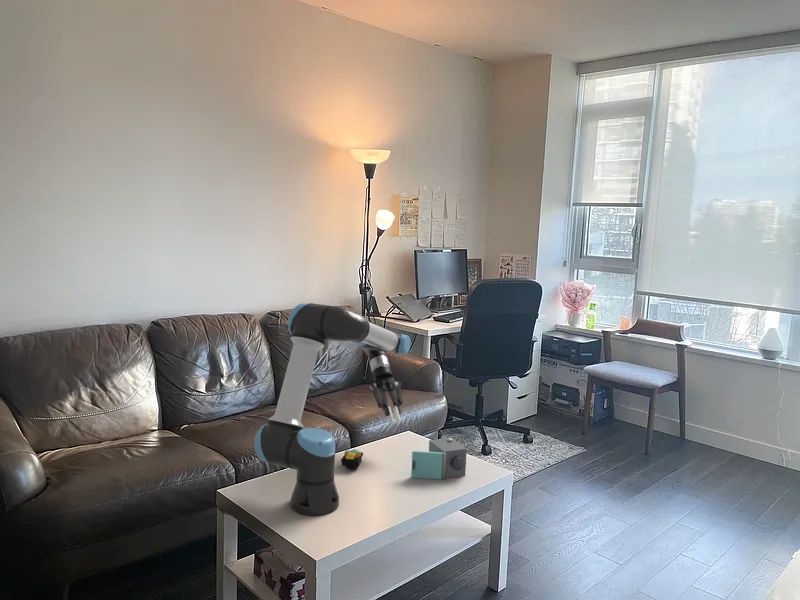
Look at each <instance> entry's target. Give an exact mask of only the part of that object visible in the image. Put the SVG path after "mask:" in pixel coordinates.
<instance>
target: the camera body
mask: <svg viewBox="0 0 800 600" xmlns="http://www.w3.org/2000/svg"><path fill="white" fill-rule="evenodd" d="M428 452H440V453H443V452H445V453H446V463H445V479H452V478H457V477H458V478H459V477H465V476H466V470H467V448H466V447H465V446H463V445H462V444H460V443H459V442H458V441H456V440H455V439H454V438H452V437H447V438H446V437H445V438H439V439H438V438H436V439H429V441H428Z"/></svg>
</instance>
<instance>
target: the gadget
mask: <svg viewBox="0 0 800 600" xmlns="http://www.w3.org/2000/svg"><path fill="white" fill-rule="evenodd" d="M363 456H364V452H362V451H360V450H358V449H356V448H355V449H351V450H345V451H344V455H343V456H342V457H341V459H340V461H341V466H343V467H345V468H346V469H356V468H359V466H360V465H361V463H362V458H363Z"/></svg>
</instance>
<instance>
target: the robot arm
mask: <svg viewBox="0 0 800 600" xmlns="http://www.w3.org/2000/svg"><path fill="white" fill-rule="evenodd" d="M287 326H288V327H287V330H288V332H289V334H290V341H291V342H292V343H293V345H292V348H291V352H290V356H289V357H290V358H289V361H288V363H287V366H286V367H287V368H286V372H285V375H284V378H283V383H282V386H281V390H280V393H279V396H278V400H277V405H276V408H275V412H274V414H273V415H272V416H271V417H269V418H268V420H267V423H266V424H264V425H262V426H260V428H259V429H258V430H257V432H256V434H255V437H254V452H255V453H256V455H257V457H258V458H259V460H261V461H262V462H265V463H268V464H269V465H274V466H278V467H283V468H288V469H290V470H295V471H296V482H295V485H294V487H293V491H292V494H291V497H290V508H291V509H292V511H294V512H295V513H298V514H300V515H303V516H323V515H326V514H330V513H332V512H334V511H335V510H337V509H338V507H339V505H340V496H339V493H338V490H337V486H336V483H335V458H336V443H335V438H334V435H333V434H332V433H331V432H330V431H327V430H325V429H323V428H319V427H317V428H316V427H314V428H312V427H305V428H304V425H303V423H302V417H303V412H304V408H305V404H306V400H307V396H308V393H309V389H310V384H311V380H312V376H313V374H314V369H315V365H316V361H317V359H318V354H319V351H320V350H322V349H323V348H324V347H325V344H326V341H332V342H349V343H350V342H351V343H355V344H357V346H358V347H359V348H361V349H362V350H363V351H364V352H365V354H366V355H367V359H368V361H369V365H370V369H371V373H372V377H373V381H374V382H373V383H370V385H369V388H368V389H369V390H370V391H371V393H372V394H373V397H374V400H375V403H376V404H377V407H378V408H379V409H382V411H384V415H385V417H387V418H388V421H389V422H388V423H389V425H394V422H395V421H396V424H397V425H400V423H401V422H402V419H401V413H402V411H401V409H400V408H401V406H403V404H404V401H403V394H402V388H401V386H402V382H401V381H396V380H395V379H394V377H393V373H392V369H391V367H390V363H389V359H388V356H387V353H391V354H396V355H397V354H398V355H406V354H407V353H409V351H410V349H411V344H412V343H411V338H410V336H409V335H407V334H403V333H402V334H401V333H397V332H393V331H391V330H388V329H386V328H384V327H382V326H379V325H378V324H374V323H372V322H371V321H369V319H367V317H365V316H364V315H361V314H359V313H358V312H355V311H353V310H350V309H348V308H345V307H342V306H339V305H327V304H320V303H313V302H311V303H310V302H308V303H299V304H298V305H296V306H294V307H293V309H292V310H291V311H290V313H289V315H288V318H287ZM394 388H395V390H394ZM378 389H379V391H378ZM387 394H388V395H389V397H390V400H391V402H392V404H393V409H391V406H389V403H388V397H387ZM392 410H393V411H392ZM393 414H394V416H393Z"/></svg>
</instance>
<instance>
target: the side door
mask: <svg viewBox="0 0 800 600" xmlns="http://www.w3.org/2000/svg"><path fill="white" fill-rule="evenodd" d="M411 453H412V455H411V472H410V473H411V474H410V475H411V476H410V477H411V478H413V479H414V478H415V479H430V480H431V479H432V480H441V481H445V479H446V478H445V463H446V453H445V452H443V453H440V452H429V451H426V450H425V451H423V450H412V452H411Z"/></svg>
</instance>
